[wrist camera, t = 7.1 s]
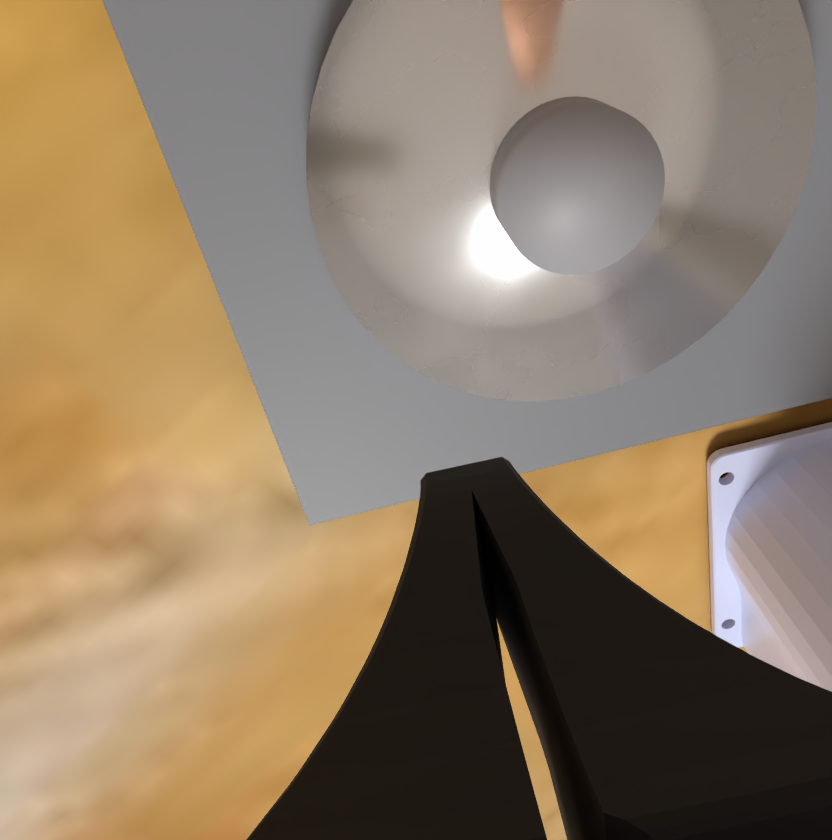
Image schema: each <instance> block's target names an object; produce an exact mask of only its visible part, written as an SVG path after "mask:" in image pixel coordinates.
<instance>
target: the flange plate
mask: <svg viewBox="0 0 832 840" xmlns="http://www.w3.org/2000/svg"><path fill="white" fill-rule="evenodd" d="M575 96H578V97H588V98H592V99H596V100H599V101H601V102H603V103H606V104H608V105H610V106H612V107H614V108H617V109H619V110H621V111H623V112H625V113H627V114H629V115H631V116H632V117H634V118H636V119H637V120H638V121H639V122H640V123H642V124H643V125H644V126H645V127H646V128H647V130H648V131H649V132H650V133H651V134H652V136H653V138H654V139H655V141H656V143H657V145H658V147H659V150H660V152H661V155H662V159H663V163H664V171H665V187H664V194H663V199H662V203H661V206H660V209H659V212H658V214H657V217H656V219H655V221H654V223H653V225H652V226H651V228H650V230H649V231H648V233H647V234H646V235H645V237H644V238H643V239H642V240H641V242H640V243H639V244H638V245H637V246H636V247H635V248H634V249H633V250H632V251H631V252H630V253H628V254H627V255H626V256H624V257H623V258H622V259H620V260H619V261H617V262H615V263H614V264H612V265H610V266H608V267H606V268H603V269H601V270H598V271H595V272H591V273H586V274H578V275H565V274H558V273H553V272H550V271H547V270H544V269H542V268H540V267H538V266H536V265H534V264H533V263H531V262H530V261H528V260H527V259H526V258H525V257H524V256H523V255H522V254H521V253H520V252H519V251H518V250H517V249H516V247H515V246H514V245H513V243H512V242H511V240H510V239H509V237H508V236H507V234H506V233H505V231H504V230H503V228H502V227H501V225H500V223H499V222H498V220H497V218H496V216H495V213H494V210H493V207H492V203H491V198H490V174H491V168H492V164H493V160H494V157H495V155H496V152H497V150H498V147H499V146H500V144H501V142H502V140H503V138H504V137H505V136H506V134H507V133H508V131H509V130H510V129H511V128H512V127H513V125H514V124H515V123H516V122H517V121H518V120H519V119H520V118H522V117H523V116H524V115H525V114H526V113H528V112H529V111H531V110H532V109H534V108H535V107H537V106H539V105H541V104H543V103H545V102H548V101H551V100H554V99H558V98H563V97H575ZM816 110H817V102H816V72H815V66H814V59H813V53H812V47H811V41H810V36H809V33H808V30H807V26H806V23H805V20H804V17H803V13H802V10H801V7H800V4H799V1H798V0H352V2H351V4H350V6H349V7H348V9H347V11H346V13H345V14H344V16H343V18H342V20H341V22H340V23H339V25H338V27H337V29H336V31H335V33H334V36H333V38H332V41H331V43H330V46H329V48H328V51H327V53H326V56H325V58H324V60H323V63H322V66H321V70H320V73H319V77H318V81H317V85H316V89H315V92H314V96H313V100H312V105H311V112H310V120H309V127H308V135H307V142H306V183H307V191H308V199H309V208H310V215H311V219H312V223H313V227H314V230H315V234H316V238H317V242H318V246H319V249H320V251H321V254H322V256H323V259H324V261H325V263H326V266H327V268H328V271H329V273H330V276H331V278H332V279H333V281H334V283H335V285H336V287H337V288H338V290H339V292H340V294H341V295H342V297H343V299H344V301H345V302H346V304H347V305H348V306H349V308H350V309H351V310H352V312H353V313H354V314H355V316H356V317H357V318H358V320H359V321H360V322H361V324H362V325H363V326H364V327H365V328H366V329H367V330H368V331H369V332H370V333H371V334H372V335H373V336H374V337H375V338H376V339H377V340H378V341H379V342H380V343H381V344H382V345H383V346H384V347H385V348H386V349H387V350H388V351H390V352H391V353H392V354H394V355H395V356H396V357H398V358H399V359H400V360H401V361H403V362H404V363H405V364H407V365H408V366H410V367H412V368H414V369H415V370H417V371H419V372H420V373H422V374H424V375H426V376H427V377H429V378H431V379H433V380H435V381H438V382H440V383H443V384H445V385H447V386H450V387H452V388H455V389H457V390H461V391H465V392H468V393H472V394H475V395H479V396H483V397H489V398H496V399H503V400H510V401H548V400H559V399H568V398H573V397H578V396H583V395H587V394H592V393H596V392H599V391H602V390H605V389H609V388H612V387H615V386H618V385H621V384H623V383H626V382H628V381H630V380H632V379H635V378H637V377H639V376H641V375H644V374H646V373H648V372H650V371H652V370H653V369H655V368H657V367H659V366H660V365H662V364H664V363H666V362H667V361H669V360H671V359H672V358H674V357H676V356H677V355H679V354H680V353H681V352H683V351H684V350H685V349H687V348H688V347H690V346H691V345H692V344H694V343H695V342H696V341H698V340H699V339H700V338H702V337H703V336H704V335H705V334H706V333H707V332H708V331H709V330H711V329H712V328H713V327H714V326H715V325H716V324H717V323H718V322H720V321H721V320H722V319H723V318H724V317H725V316H726V315H727V313H728V312H729V311H730V310H731V309H732V308H733V307H734V306H735V305H736V304H737V303H738V301H739V300H740V299H741V298H742V297H743V296H744V295H745V294H746V292H747V291H748V290H749V288H750V287H751V286H752V284H753V283H754V282H755V280H756V279H757V277H758V276H759V275H760V273H761V272H762V271H763V269H764V268H765V266H766V265H767V263H768V261H769V260H770V258H771V256H772V255H773V253H774V251H775V249H776V248H777V246H778V244H779V243H780V241H781V239H782V237H783V235H784V233H785V231H786V228H787V226H788V224H789V222H790V220H791V217H792V215H793V213H794V211H795V209H796V206H797V203H798V200H799V197H800V194H801V191H802V188H803V185H804V182H805V179H806V175H807V170H808V166H809V161H810V156H811V152H812V147H813V142H814V131H815V120H816Z"/></svg>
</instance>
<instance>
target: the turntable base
mask: <svg viewBox="0 0 832 840" xmlns="http://www.w3.org/2000/svg"><path fill="white" fill-rule="evenodd" d="M102 1H103V3H104V6H105V8H106V11H107V13H108V16H109V18H110V21H111V24H112V26H113V29H114V31H115V34H116V36H117V39H118V41H119V44H120V46H121V49H122V51H123V54H124V56H125V59H126V62H127V64H128V67H129V69H130V72H131V74H132V77H133V79H134V82H135V84H136V87H137V89H138V92H139V94H140V97H141V100H142V102H143V105H144V107H145V110H146V112H147V115H148V117H149V120H150V122H151V125H152V127H153V130H154V132H155V135H156V138H157V140H158V143H159V145H160V148H161V150H162V153H163V155H164V158H165V160H166V163H167V165H168V168H169V170H170V173H171V175H172V178H173V181H174V183H175V186H176V188H177V191H178V193H179V196H180V198H181V201H182V203H183V206H184V208H185V211H186V213H187V216H188V219H189V221H190V224H191V226H192V229H193V231H194V234H195V236H196V239H197V241H198V244H199V246H200V249H201V251H202V254H203V257H204V259H205V262H206V264H207V267H208V269H209V272H210V274H211V277H212V279H213V282H214V284H215V287H216V289H217V292H218V295H219V297H220V300H221V302H222V305H223V307H224V310H225V312H226V315H227V317H228V320H229V322H230V325H231V327H232V330H233V332H234V335H235V338H236V340H237V343H238V345H239V348H240V350H241V353H242V355H243V358H244V360H245V363H246V365H247V368H248V370H249V373H250V376H251V378H252V381H253V383H254V386H255V388H256V391H257V393H258V396H259V398H260V401H261V403H262V406H263V408H264V411H265V414H266V416H267V419H268V421H269V424H270V426H271V429H272V431H273V434H274V436H275V439H276V441H277V444H278V446H279V449H280V452H281V454H282V457H283V459H284V462H285V464H286V467H287V469H288V472H289V474H290V477H291V479H292V482H293V484H294V487H295V490H296V492H297V495H298V497H299V500H300V502H301V505H302V507H303V510H304V512H305V515H306V517H307V520H308V522H309V525H314V524H318V523H322V522H326V521H330V520H334V519H338V518H342V517H346V516H350V515H354V514H359V513H363V512H367V511H371V510H375V509H379V508H383V507H387V506H391V505H395V504H400V503H404V502H408V501H412V500H416V499H420V490H421V484H420V480H421V479H422V478H423V476H424V475H425V474H426V473H428V472H433V471H438V470H442V469H447V468H452V467H456V466H461V465H466V464H470V463H475V462H480V461H484V460H489V459H494V458H498V457H503V458H505V459H507V460H508V461H510V463H511V464H512V466H513V467H514V468H515V470H516V471H517V472H518V474H522V473H527V472H531V471H535V470H539V469H543V468H547V467H551V466H555V465H559V464H563V463H568V462H572V461H576V460H580V459H584V458H588V457H592V456H596V455H600V454H604V453H609V452H613V451H617V450H621V449H625V448H629V447H633V446H637V445H641V444H645V443H650V442H654V441H658V440H662V439H666V438H670V437H674V436H678V435H682V434H686V433H690V432H695V431H699V430H703V429H707V428H711V427H715V426H719V425H723V424H727V423H731V422H736V421H740V420H744V419H748V418H752V417H756V416H760V415H764V414H768V413H772V412H777V411H781V410H785V409H789V408H793V407H797V406H801V405H805V404H809V403H813V402H818V401H822V400H826V399H830V398H832V0H798V1H799V4H800V7H801V10H802V13H803V17H804V20H805V23H806V26H807V30H808V33H809V36H810V41H811V47H812V53H813V59H814V66H815V72H816V102H817V110H816V120H815V131H814V142H813V147H812V152H811V156H810V161H809V166H808V170H807V175H806V179H805V182H804V185H803V188H802V191H801V194H800V197H799V200H798V203H797V206H796V209H795V211H794V213H793V215H792V217H791V220H790V222H789V224H788V226H787V228H786V231H785V233H784V235H783V237H782V239H781V241H780V243H779V244H778V246H777V248H776V249H775V251H774V253H773V255H772V256H771V258H770V260H769V261H768V263H767V265H766V266H765V268H764V269H763V271H762V272H761V273H760V275H759V276H758V277H757V279H756V280H755V282H754V283H753V284H752V286H751V287H750V288H749V290H748V291H747V292H746V294H745V295H744V296H743V297H742V298H741V299H740V300H739V301H738V303H737V304H736V305H735V306H734V307H733V308H732V309H731V310H730V311H729V312H728V313H727V315H726V316H725V317H724V318H723V319H722V320H721V321H720V322H718V323H717V324H716V325H715V326H714V327H713V328H712V329H711V330H709V331H708V332H707V333H706V334H705V335H704V336H703V337H702V338H700V339H699V340H698V341H696V342H695V343H694V344H692V345H691V346H690V347H688V348H687V349H685V350H684V351H683V352H681V353H680V354H679V355H677V356H676V357H674V358H672V359H671V360H669V361H667V362H666V363H664V364H662V365H660V366H659V367H657V368H655V369H653V370H652V371H650V372H648V373H646V374H644V375H641V376H639V377H637V378H635V379H632V380H630V381H628V382H626V383H623V384H621V385H618V386H615V387H612V388H609V389H605V390H602V391H599V392H596V393H592V394H587V395H583V396H578V397H573V398H568V399H559V400H548V401H510V400H503V399H496V398H489V397H483V396H479V395H475V394H472V393H468V392H465V391H461V390H457V389H455V388H452V387H450V386H447V385H445V384H443V383H440V382H438V381H435V380H433V379H431V378H429V377H427V376H426V375H424V374H422V373H420V372H419V371H417V370H415V369H414V368H412V367H410V366H408V365H407V364H405V363H404V362H403V361H401V360H400V359H399V358H398V357H396V356H395V355H394V354H392V353H391V352H390V351H388V350H387V349H386V348H385V347H384V346H383V345H382V344H381V343H380V342H379V341H378V340H377V339H376V338H375V337H374V336H373V335H372V334H371V333H370V332H369V331H368V330H367V329H366V328H365V327H364V326H363V325H362V324H361V322H360V321H359V320H358V318H357V317H356V316H355V314H354V313H353V312H352V310H351V309H350V308H349V306H348V305H347V304H346V302H345V301H344V299H343V297H342V295H341V294H340V292H339V290H338V288H337V287H336V285H335V283H334V281H333V279H332V278H331V276H330V273H329V271H328V268H327V266H326V263H325V261H324V259H323V256H322V254H321V251H320V249H319V246H318V242H317V238H316V234H315V230H314V227H313V223H312V219H311V215H310V208H309V199H308V191H307V183H306V142H307V135H308V127H309V120H310V112H311V105H312V100H313V96H314V92H315V89H316V85H317V81H318V77H319V73H320V70H321V66H322V63H323V60H324V58H325V56H326V53H327V51H328V48H329V46H330V43H331V41H332V38H333V36H334V33H335V31H336V29H337V27H338V25H339V23H340V22H341V20H342V18H343V16H344V14H345V13H346V11H347V9H348V7H349V6H350V4H351V2H352V0H102ZM664 187H665V171H664V163H663V159H662V155H661V152H660V150H659V147H658V145H657V143H656V141H655V139H654V138H653V136H652V134H651V133H650V132H649V131H648V130H647V128H646V127H645V126H644V125H643V124H642V123H640V122H639V121H638V120H637V119H636V118H634V117H632V116H631V115H629V114H627V113H625V112H623V111H621V110H619V109H617V108H614V107H612V106H610V105H608V104H606V103H603V102H601V101H599V100H596V99H592V98H588V97H578V96H575V97H563V98H558V99H554V100H551V101H548V102H545V103H543V104H541V105H539V106H537V107H535V108H534V109H532V110H531V111H529V112H528V113H526V114H525V115H524V116H523V117H522V118H520V119H519V120H518V121H517V122H516V123H515V124H514V125H513V127H512V128H511V129H510V130H509V131H508V133H507V134H506V136H505V137H504V138H503V140H502V142H501V144H500V146H499V147H498V150H497V152H496V155H495V157H494V160H493V164H492V168H491V174H490V198H491V203H492V207H493V210H494V213H495V216H496V218H497V220H498V222H499V223H500V225H501V227H502V228H503V230H504V231H505V233H506V234H507V236H508V237H509V239H510V240H511V242H512V243H513V245H514V246H515V247H516V249H517V250H518V251H519V252H520V253H521V254H522V255H523V256H524V257H525V258H526V259H527V260H528V261H530V262H531V263H533V264H534V265H536V266H538V267H540V268H542V269H544V270H547V271H550V272H553V273H558V274H565V275H578V274H586V273H591V272H595V271H598V270H601V269H603V268H606V267H608V266H610V265H612V264H614V263H615V262H617V261H619V260H620V259H622V258H623V257H624V256H626V255H627V254H628V253H630V252H631V251H632V250H633V249H634V248H635V247H636V246H637V245H638V244H639V243H640V242H641V240H642V239H643V238H644V237H645V235H646V234H647V233H648V231H649V230H650V228H651V226H652V225H653V223H654V221H655V219H656V217H657V214H658V212H659V209H660V206H661V203H662V199H663V194H664Z"/></svg>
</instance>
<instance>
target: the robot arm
mask: <svg viewBox="0 0 832 840" xmlns="http://www.w3.org/2000/svg"><path fill="white" fill-rule="evenodd" d="M726 472H728V474H727V475H726V476H725V477H723V478H719V477H720V476H721V475H722V474H724V473H726ZM420 484H421V490H420V501H419V508H418V513H417V518H416V523H415V528H414V532H413V536H412V540H411V544H410V547H409V551H408V555H407V558H406V562H405V565H404V569H403V572H402V575H401V577H400V580H399V583H398V586H397V589H396V591H395V594H394V597H393V600H392V603H391V606H390V608H389V611H388V613H387V616H386V618H385V620H384V623H383V625H382V628H381V630H380V632H379V634H378V637H377V639H376V641H375V643H374V645H373V647H372V650H371V652H370V654H369V656H368V658H367V660H366V662H365V664H364V666H363V668H362V670H361V671H360V673H359V675H358V677H357V679H356V681H355V683H354V684H353V686H352V688H351V690H350V692H349V694H348V696H347V697H346V699H345V701H344V703H343V704H342V706H341V708H340V709H339V711H338V713H337V714H336V716H335V718H334V719H333V721H332V723H331V724H330V726H329V727H328V729H327V730H326V732H325V733H324V735H323V736H322V738H321V739H320V741H319V742H318V744H317V745H316V747H315V748H314V750H313V751H312V753H311V754H310V756H309V757H308V759H307V760H306V762H305V763H304V765H303V766H302V768H301V769H300V771H299V772H298V774H297V775H296V776H295V778H294V779H293V781H292V782H291V783H290V785H289V786H288V787H287V789H286V790H285V791H284V793H283V794H282V795H281V796H280V798H279V799H278V800H277V801H276V803H275V804H274V805H273V807H272V808H271V809H270V810H269V812H268V813H267V814H266V815H265V817H264V818H263V819H262V821H261V822H260V823H259V824H258V826H257V827H256V828H255V830H254V831H253V832H252V833H251V835H250V836H249V837H248V838H247V840H547V838H546V834H545V830H544V827H543V823H542V819H541V816H540V812H539V808H538V805H537V801H536V797H535V794H534V790H533V786H532V783H531V779H530V775H529V771H528V768H527V764H526V760H525V757H524V753H523V749H522V745H521V742H520V738H519V734H518V730H517V726H516V723H515V719H514V715H513V711H512V707H511V703H510V700H509V696H508V692H507V688H506V684H505V677H504V669H503V662H502V655H501V648H500V641H499V634H498V626H497V621H498V624H499V627H500V629H501V632H502V635H503V638H504V641H505V643H506V646H507V649H508V652H509V655H510V658H511V660H512V663H513V666H514V669H515V671H516V674H517V677H518V680H519V683H520V685H521V688H522V691H523V694H524V697H525V699H526V702H527V705H528V708H529V711H530V713H531V716H532V719H533V722H534V725H535V727H536V730H537V733H538V736H539V738H540V741H541V745H542V748H543V751H544V754H545V757H546V761H547V764H548V767H549V770H550V774H551V778H552V782H553V786H554V790H555V794H556V797H557V801H558V805H559V809H560V813H561V817H562V821H563V824H564V828H565V832H566V836H567V840H832V422H829V423H825V424H821V425H817V426H812V427H808V428H804V429H800V430H796V431H792V432H788V433H784V434H779V435H775V436H771V437H767V438H763V439H759V440H755V441H751V442H747V443H742V444H738V445H734V446H730V447H726V448H722V449H719V450H717V451H715V452H714V453H713V454H711V455H710V457H709V458H708V461H707V488H708V522H709V555H710V589H711V623H712V633H711V632H709V631H707V630H705V629H704V628H702V627H700V626H698V625H697V624H695V623H693V622H692V621H690V620H688V619H687V618H685V617H684V616H682V615H681V614H679V613H678V612H676V611H674V610H673V609H671V608H670V607H668V606H667V605H665V604H664V603H662V602H661V601H659V600H658V599H656V598H655V597H653V596H652V595H651V594H649V593H648V592H646V591H645V590H644V589H642V588H641V587H639V586H638V585H636V584H635V583H634V582H632V581H631V580H630V579H628V578H627V577H626V576H625V575H623V574H622V573H621V572H619V571H618V570H617V569H616V568H614V567H613V566H612V565H611V564H609V563H608V562H607V561H606V560H605V559H603V558H602V557H601V556H600V555H599V554H597V553H596V552H595V551H594V550H593V549H591V548H590V547H589V546H588V545H587V544H586V543H585V542H584V541H582V540H581V539H580V538H579V537H578V536H577V535H576V534H575V533H574V532H573V531H572V530H571V529H570V528H569V527H568V526H567V525H565V524H564V523H563V522H562V521H561V520H560V519H559V518H558V517H557V516H556V515H555V514H554V513H553V512H552V511H551V510H550V509H549V508H548V507H547V506H546V505H545V504H544V503H543V502H542V500H541V499H540V498H539V497H538V496H537V495H536V494H535V493H534V492H533V491H532V489H531V488H530V487H529V486H528V485H527V484H526V482H525V481H524V480H523V479H522V478H521V476H520V475H519V474H518V472H517V471H516V470H515V468H514V467H513V466H512V464H511V463H510V461H508V460H507V459H505V458H503V457H498V458H494V459H489V460H484V461H480V462H475V463H470V464H466V465H461V466H456V467H452V468H447V469H442V470H438V471H433V472H428V473H426V474H425V475H424V476H423V478H422V479H421V480H420ZM496 618H497V619H496ZM725 620H726V621H725ZM743 646H744V648H745V649H746V651H747V653H746V652H745V651H743V650H741V649H739V648H738V647H743Z"/></svg>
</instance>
